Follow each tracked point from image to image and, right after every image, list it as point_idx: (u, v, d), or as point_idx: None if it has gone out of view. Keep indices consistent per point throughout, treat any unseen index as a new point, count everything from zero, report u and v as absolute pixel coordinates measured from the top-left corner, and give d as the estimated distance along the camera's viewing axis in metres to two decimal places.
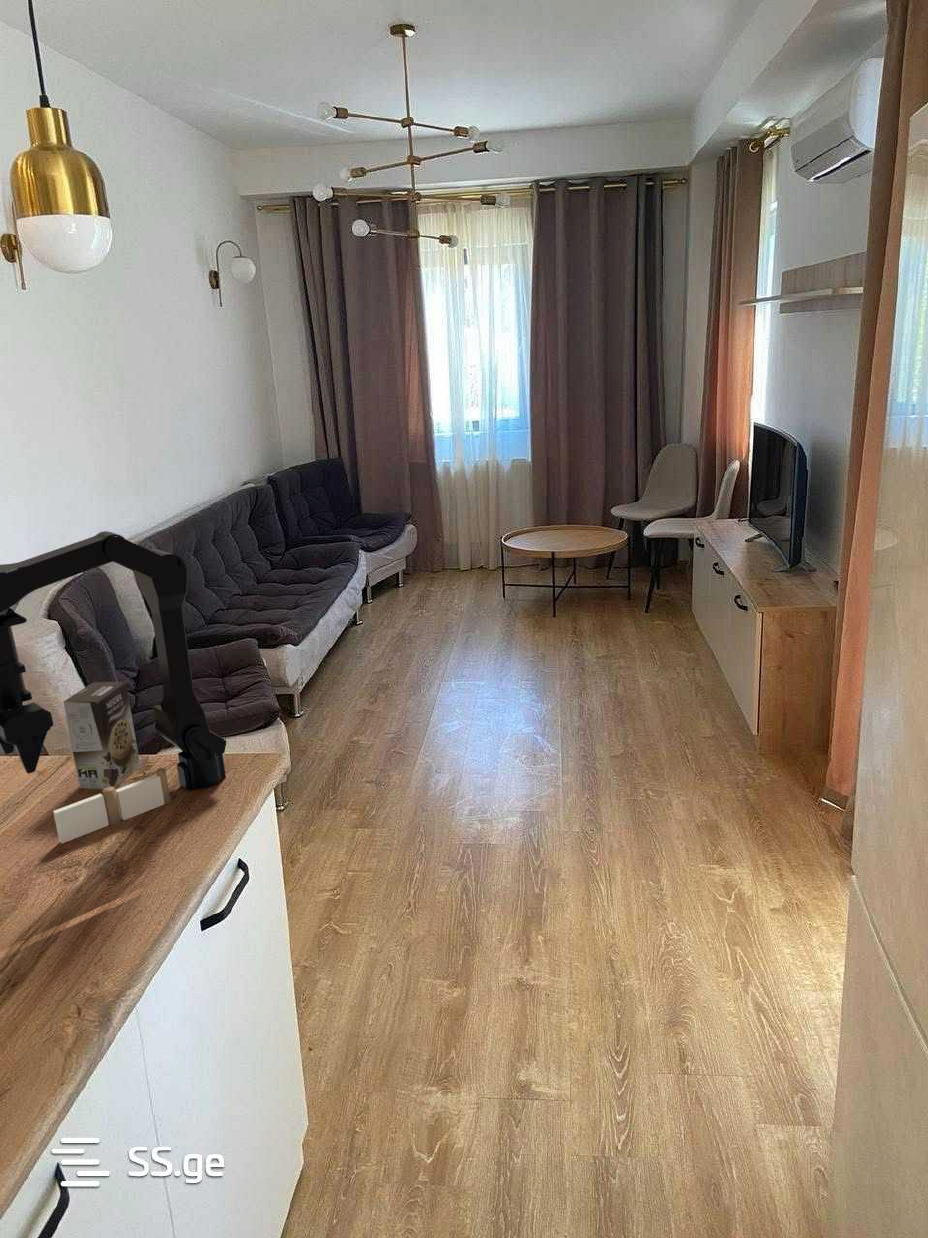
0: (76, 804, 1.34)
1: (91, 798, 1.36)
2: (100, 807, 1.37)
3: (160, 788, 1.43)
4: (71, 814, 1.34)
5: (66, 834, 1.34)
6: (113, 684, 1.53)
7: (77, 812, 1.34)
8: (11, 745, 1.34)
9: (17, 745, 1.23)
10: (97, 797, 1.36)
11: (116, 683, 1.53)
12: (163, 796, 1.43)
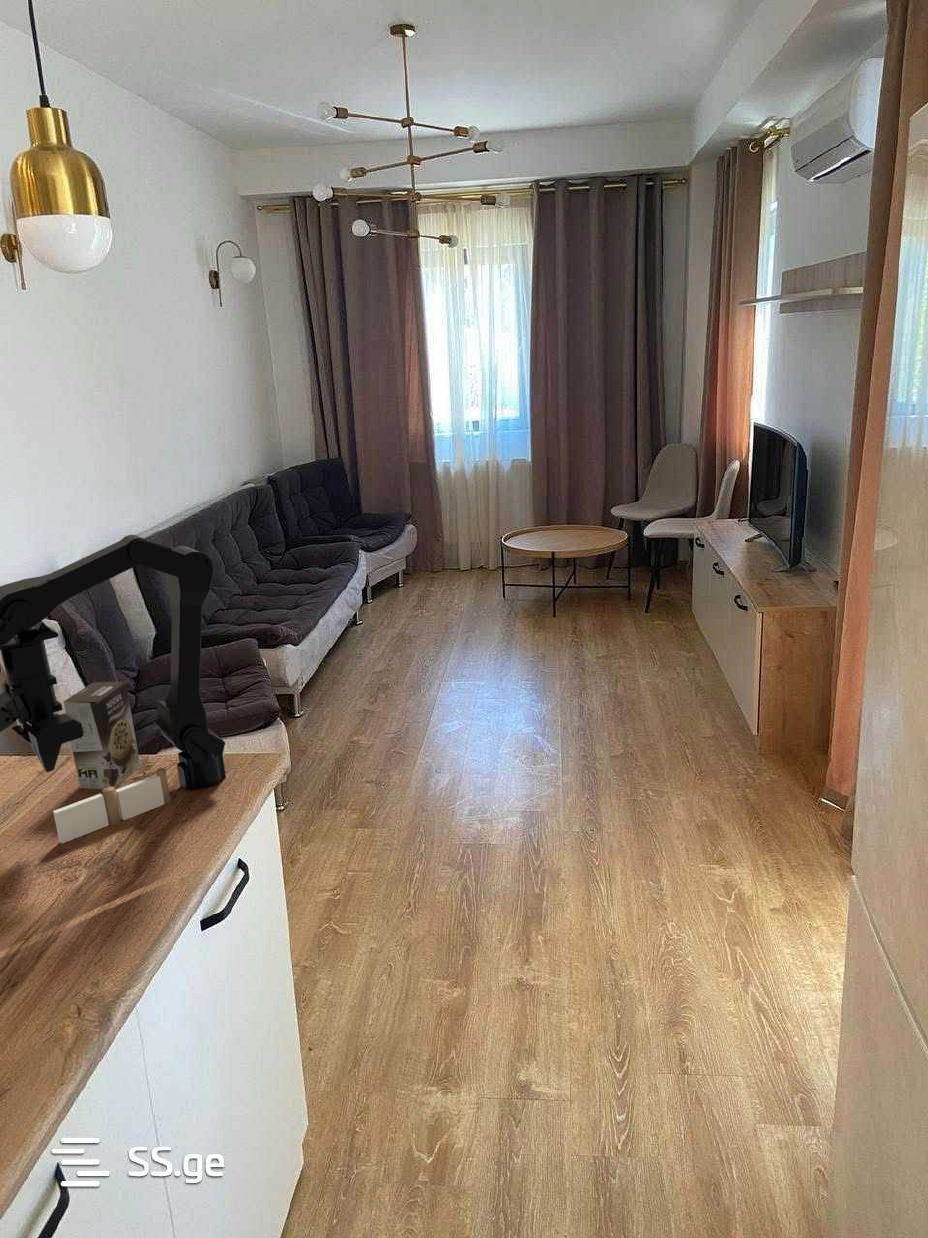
0: (76, 804, 1.34)
1: (91, 798, 1.36)
2: (100, 807, 1.37)
3: (160, 788, 1.43)
4: (71, 814, 1.34)
5: (66, 834, 1.34)
6: (113, 684, 1.53)
7: (77, 812, 1.34)
8: None
9: None
10: (97, 797, 1.36)
11: (116, 683, 1.53)
12: (163, 796, 1.43)
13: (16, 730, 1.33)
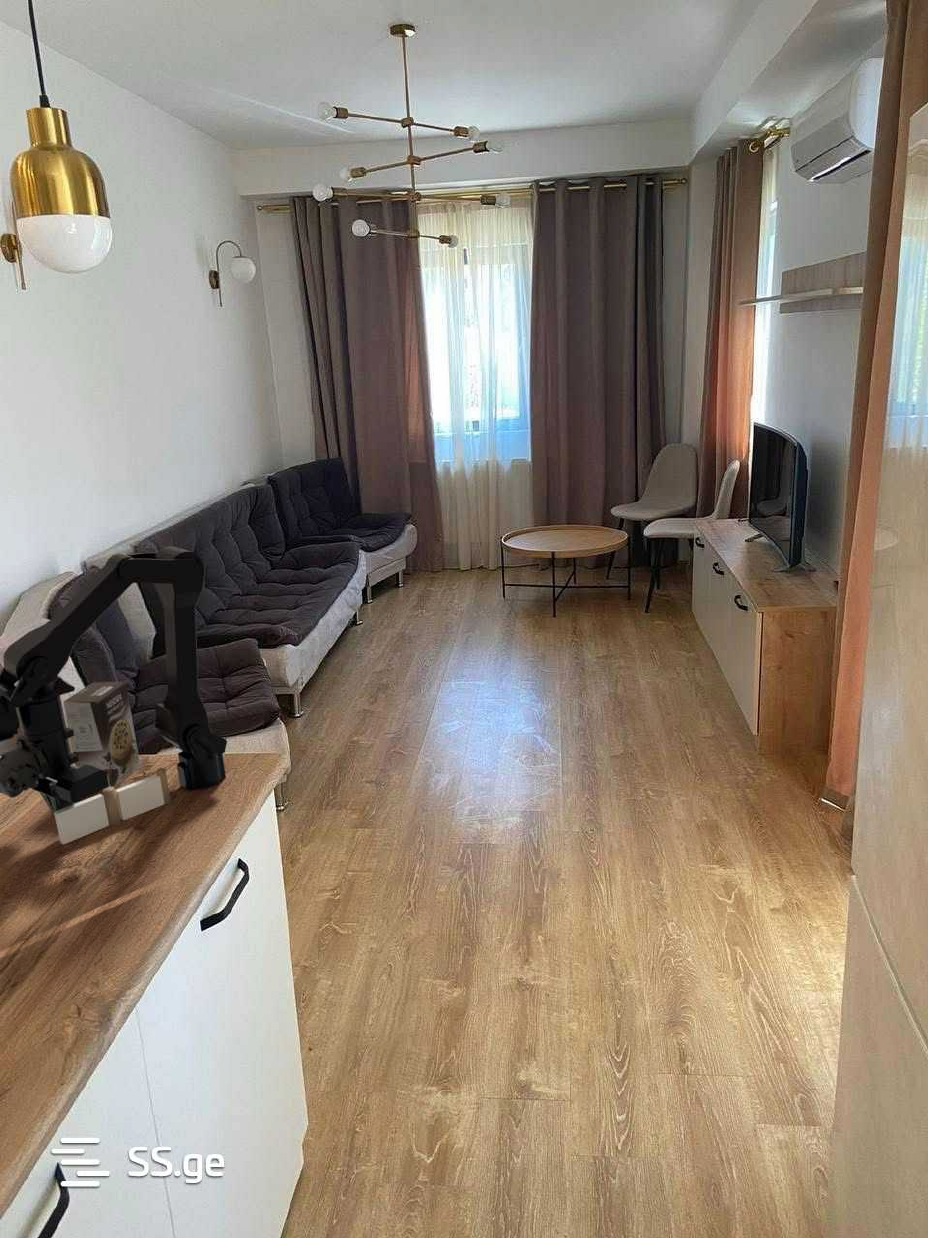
0: (77, 805, 1.34)
1: (91, 798, 1.36)
2: (101, 807, 1.37)
3: (160, 788, 1.43)
4: (72, 815, 1.34)
5: (67, 835, 1.34)
6: (113, 684, 1.53)
7: (78, 813, 1.34)
8: None
9: (56, 798, 1.32)
10: (97, 797, 1.36)
11: (116, 683, 1.53)
12: (163, 796, 1.43)
13: (30, 786, 1.33)
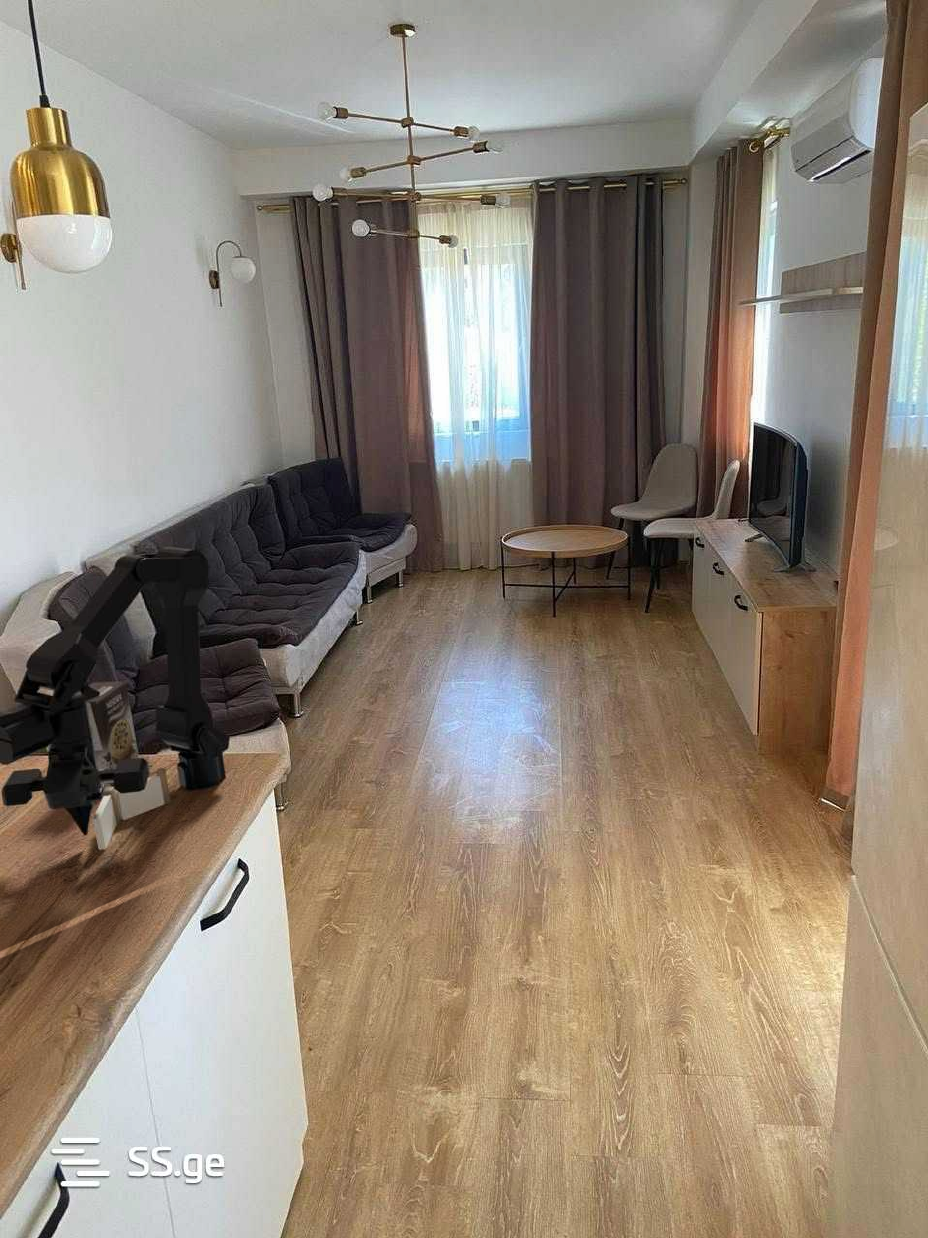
0: (102, 807, 1.33)
1: (105, 800, 1.35)
2: (111, 807, 1.37)
3: (160, 788, 1.43)
4: (104, 817, 1.32)
5: (105, 838, 1.32)
6: (113, 684, 1.53)
7: (105, 815, 1.33)
8: None
9: (92, 804, 1.30)
10: (108, 797, 1.36)
11: (116, 683, 1.53)
12: (163, 796, 1.43)
13: None
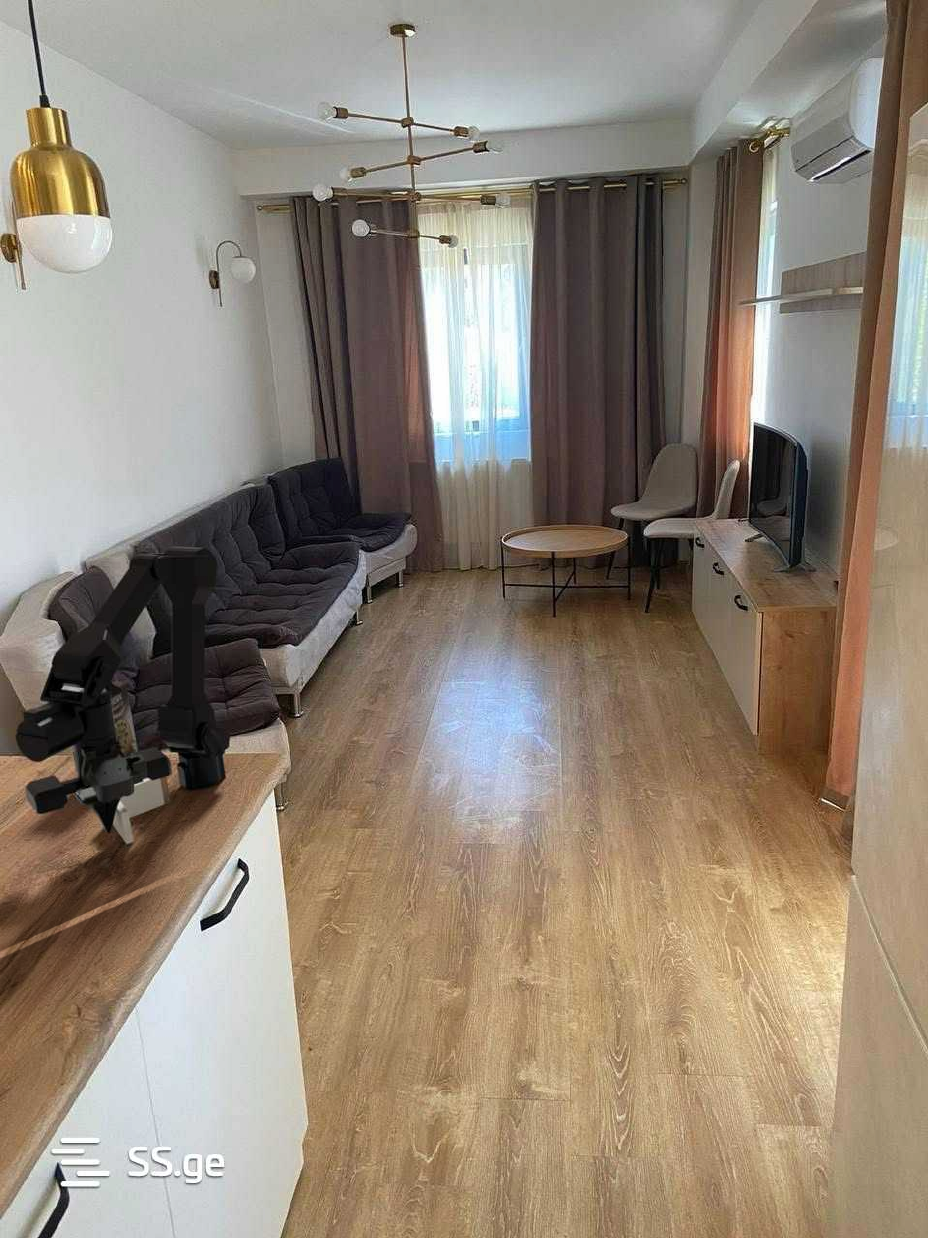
0: (119, 803, 1.34)
1: None
2: None
3: (160, 788, 1.43)
4: None
5: None
6: None
7: None
8: None
9: (119, 799, 1.31)
10: None
11: (116, 683, 1.53)
12: (163, 796, 1.43)
13: (96, 799, 1.27)
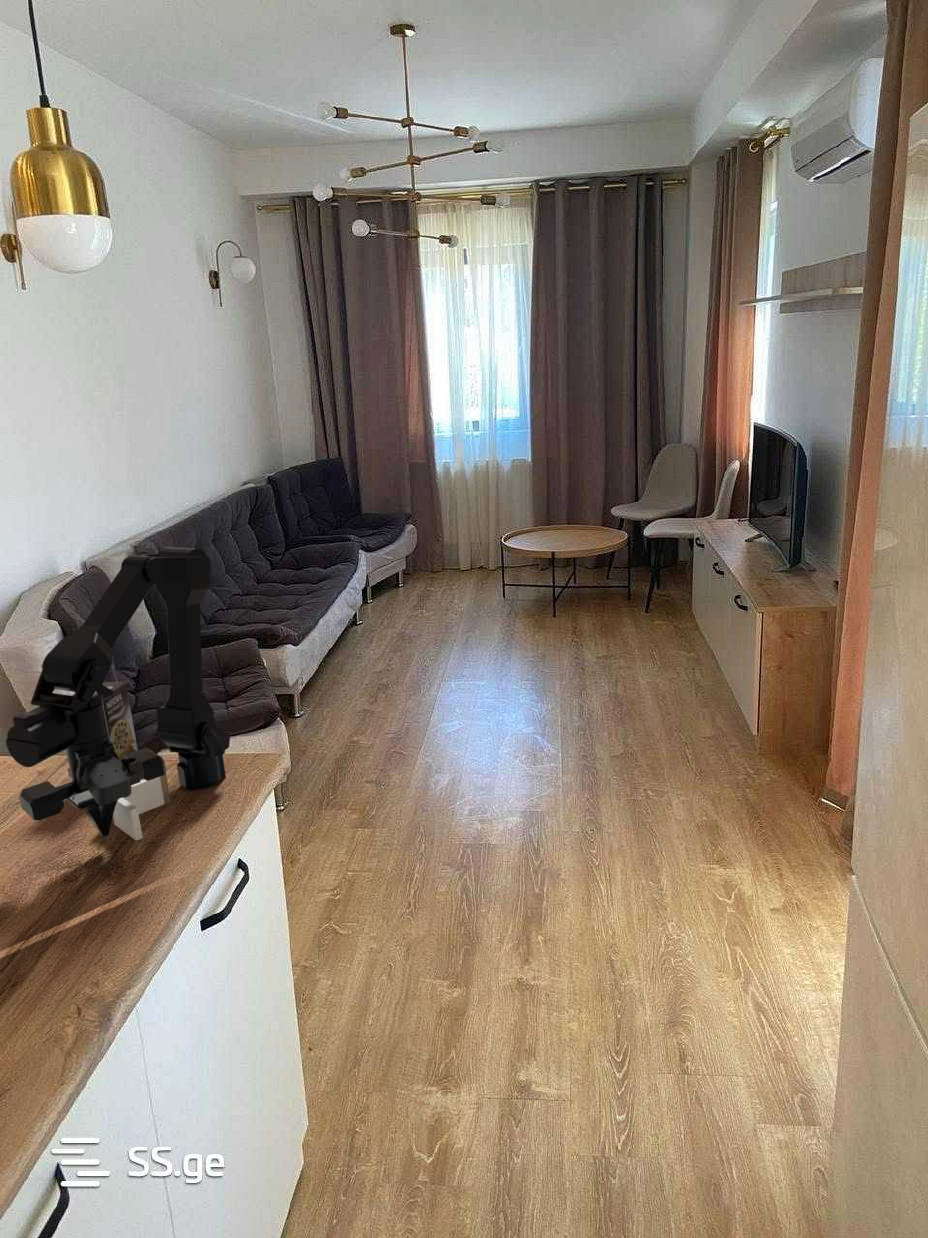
0: (125, 801, 1.34)
1: None
2: None
3: (160, 788, 1.43)
4: None
5: None
6: (113, 684, 1.53)
7: None
8: None
9: (116, 800, 1.30)
10: None
11: (116, 683, 1.53)
12: (163, 796, 1.43)
13: (91, 803, 1.26)
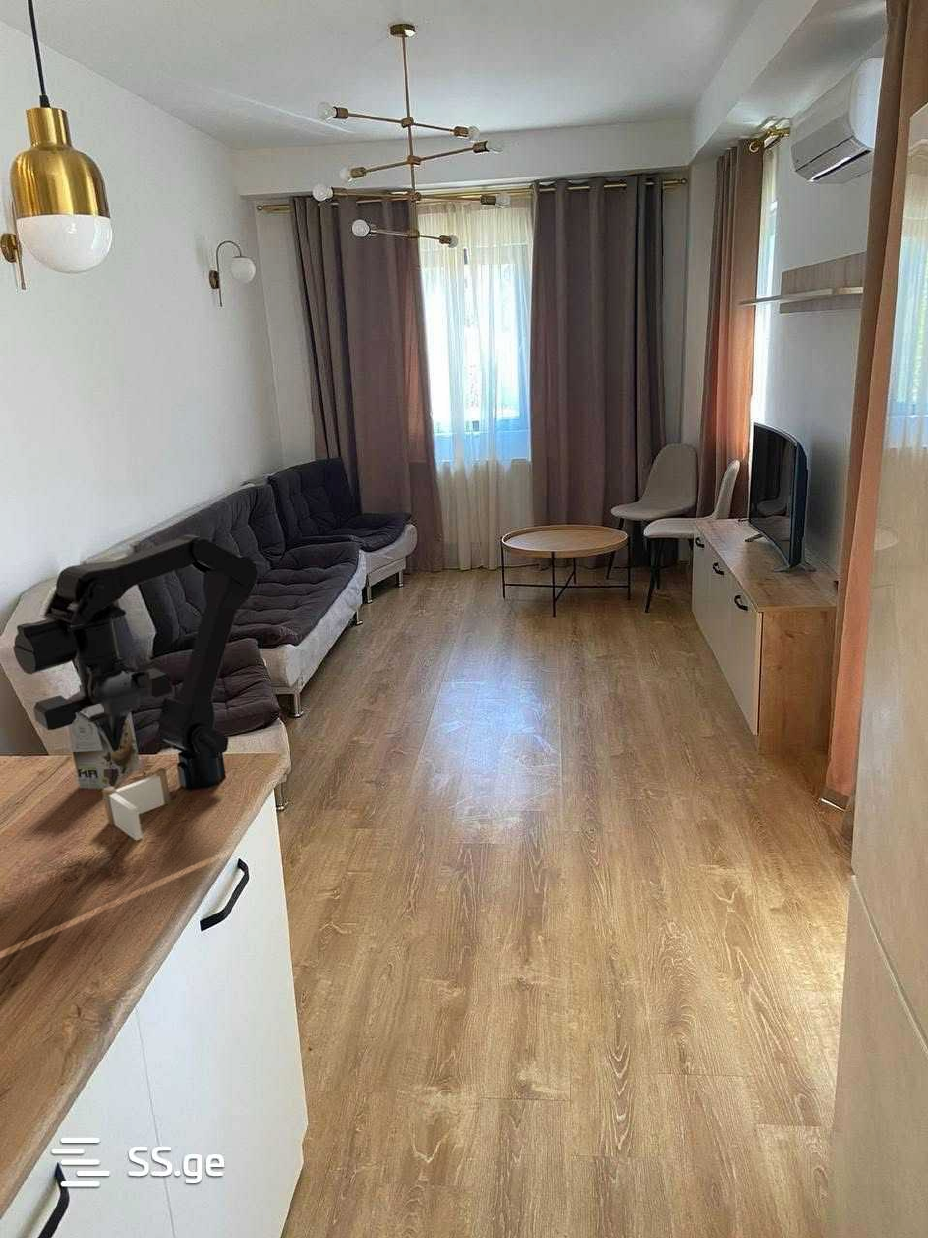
0: (125, 801, 1.34)
1: (117, 797, 1.36)
2: None
3: (160, 788, 1.43)
4: None
5: None
6: None
7: None
8: None
9: (126, 716, 1.36)
10: (116, 795, 1.37)
11: None
12: (163, 796, 1.43)
13: (102, 716, 1.32)
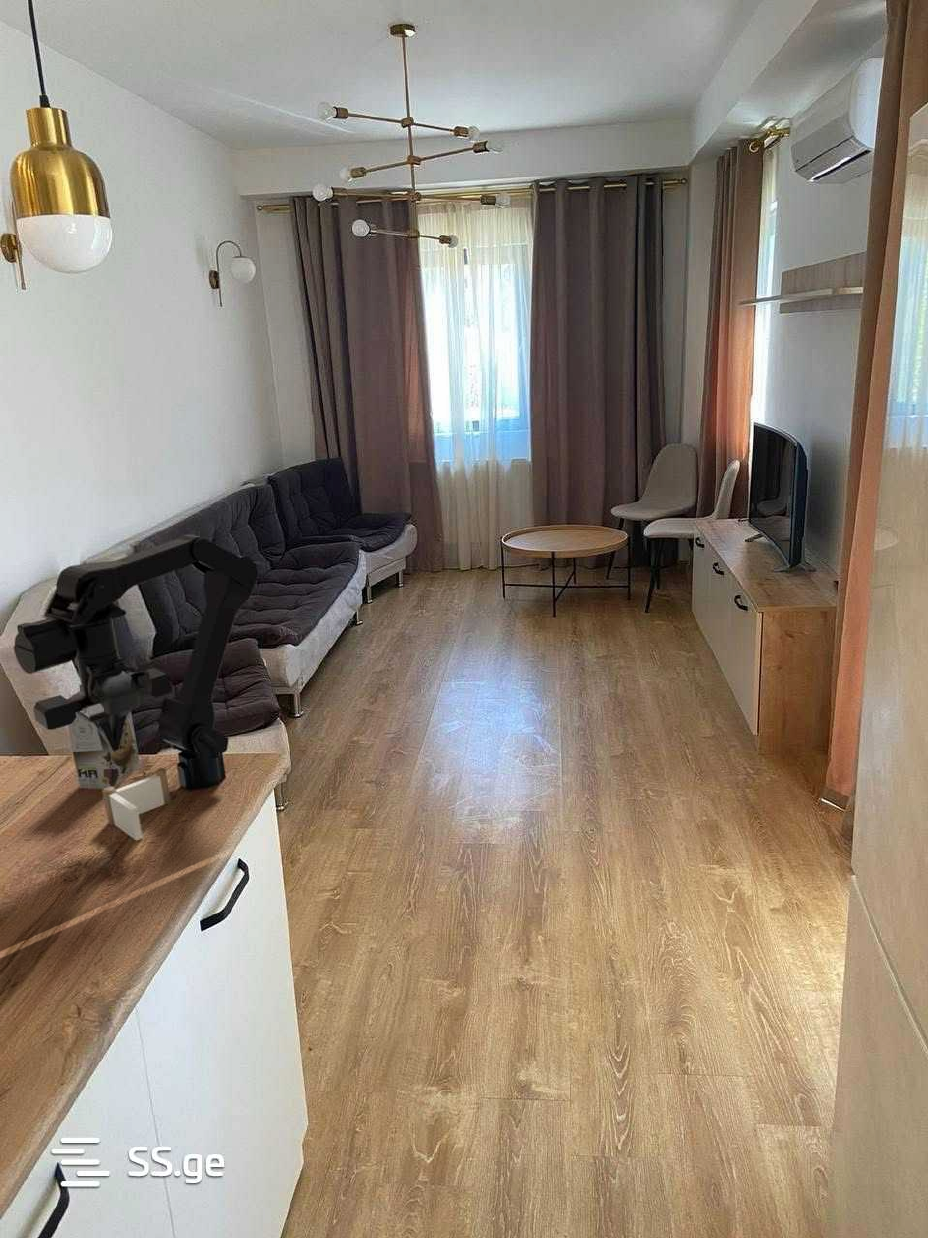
0: (125, 801, 1.34)
1: (117, 797, 1.36)
2: None
3: (160, 788, 1.43)
4: None
5: None
6: None
7: None
8: None
9: (126, 715, 1.36)
10: (116, 795, 1.37)
11: None
12: (163, 796, 1.43)
13: (102, 716, 1.32)
